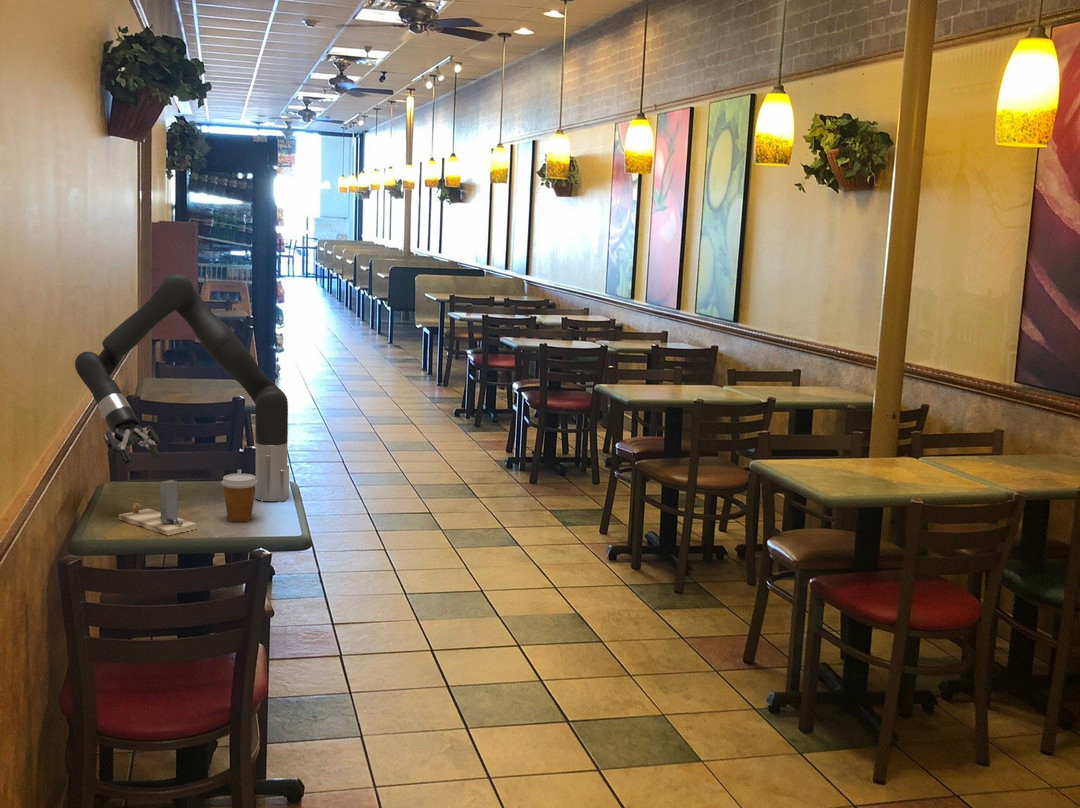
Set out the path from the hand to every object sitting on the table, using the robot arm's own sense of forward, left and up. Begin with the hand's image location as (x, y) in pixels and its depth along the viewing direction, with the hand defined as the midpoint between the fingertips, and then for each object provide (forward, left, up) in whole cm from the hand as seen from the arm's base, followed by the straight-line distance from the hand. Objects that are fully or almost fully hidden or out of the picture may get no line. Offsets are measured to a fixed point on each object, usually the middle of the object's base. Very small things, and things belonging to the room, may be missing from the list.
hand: (143, 461), depth 288 cm
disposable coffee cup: (-24, -5, -17) cm, 30 cm away
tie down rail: (-5, +4, -17) cm, 18 cm away
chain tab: (-10, +7, -15) cm, 19 cm away
